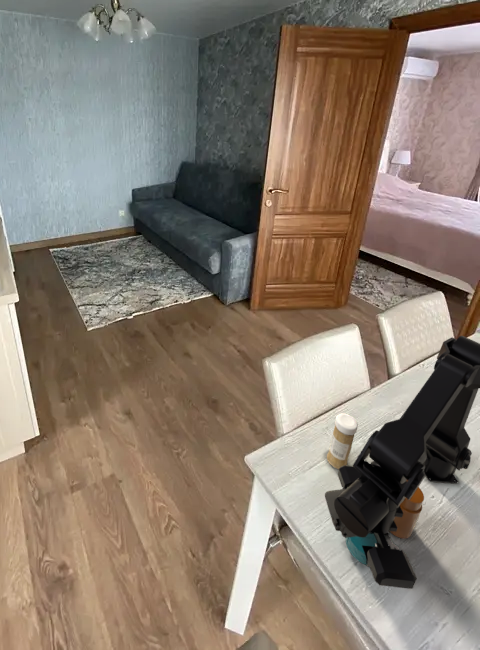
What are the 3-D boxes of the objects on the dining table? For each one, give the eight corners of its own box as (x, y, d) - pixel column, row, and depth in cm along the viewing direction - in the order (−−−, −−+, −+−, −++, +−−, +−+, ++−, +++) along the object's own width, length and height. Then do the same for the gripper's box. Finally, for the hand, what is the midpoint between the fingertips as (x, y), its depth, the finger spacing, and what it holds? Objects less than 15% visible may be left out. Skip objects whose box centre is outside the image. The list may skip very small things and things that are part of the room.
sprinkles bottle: (350, 463, 83) (362, 423, 78) (339, 473, 81) (350, 432, 76) (333, 448, 87) (343, 409, 82) (322, 458, 84) (332, 418, 79)
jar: (403, 511, 73) (416, 478, 69) (416, 540, 69) (432, 506, 65) (377, 509, 74) (389, 476, 70) (389, 537, 69) (403, 503, 65)
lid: (351, 563, 65) (354, 554, 63) (340, 526, 70) (343, 518, 69) (385, 567, 64) (389, 558, 63) (372, 530, 69) (375, 521, 68)
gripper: (318, 442, 70) (307, 492, 76) (354, 551, 53) (336, 605, 59) (375, 447, 69) (359, 497, 75) (430, 559, 52) (404, 613, 58)
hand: (362, 545), depth 67 cm, fingers closed on lid, 6 cm apart
